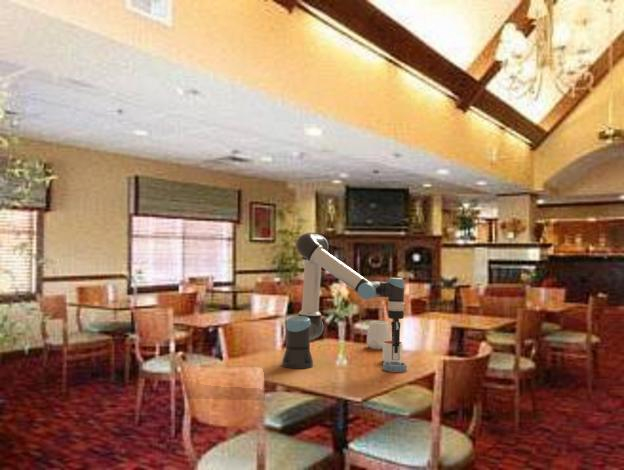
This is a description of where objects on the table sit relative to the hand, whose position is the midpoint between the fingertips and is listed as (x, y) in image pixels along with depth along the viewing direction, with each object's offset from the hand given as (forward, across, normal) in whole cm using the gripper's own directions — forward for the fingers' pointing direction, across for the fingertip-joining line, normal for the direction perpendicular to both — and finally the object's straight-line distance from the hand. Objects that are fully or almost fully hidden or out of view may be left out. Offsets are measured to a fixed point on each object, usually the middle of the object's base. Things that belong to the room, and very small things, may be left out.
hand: (395, 358), depth 282 cm
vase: (+5, +60, +2) cm, 60 cm away
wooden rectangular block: (0, 0, 0) cm, 0 cm away
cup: (+5, +19, -1) cm, 20 cm away
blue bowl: (+5, 0, 0) cm, 5 cm away
